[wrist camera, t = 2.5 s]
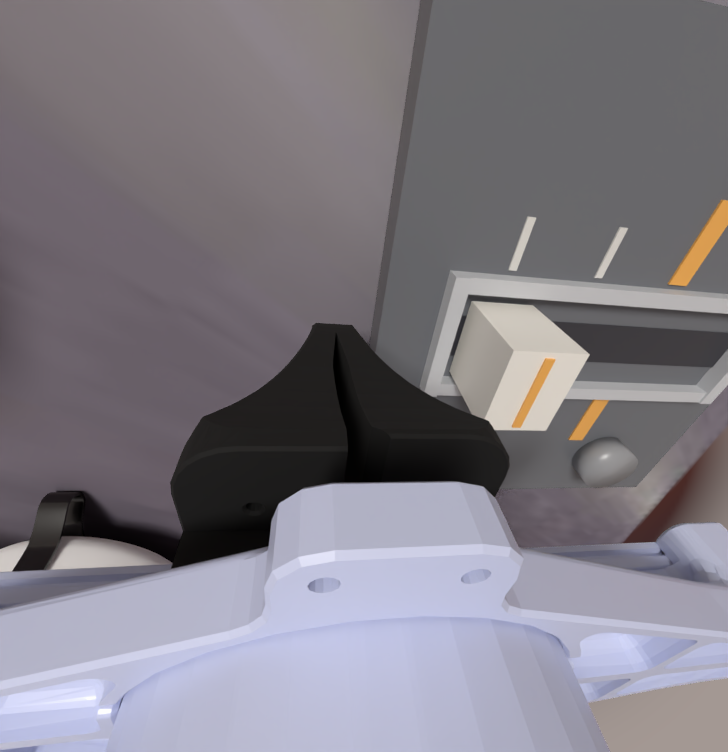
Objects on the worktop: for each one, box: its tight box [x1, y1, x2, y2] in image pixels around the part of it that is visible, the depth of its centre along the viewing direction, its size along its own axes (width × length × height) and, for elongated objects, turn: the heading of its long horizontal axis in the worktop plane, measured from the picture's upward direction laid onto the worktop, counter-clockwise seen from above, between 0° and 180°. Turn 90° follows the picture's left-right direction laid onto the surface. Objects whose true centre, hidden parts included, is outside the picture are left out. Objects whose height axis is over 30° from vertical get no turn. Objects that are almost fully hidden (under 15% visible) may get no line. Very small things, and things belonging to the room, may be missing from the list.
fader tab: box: [449, 301, 590, 431], centre depth 13 cm, size 3×2×4 cm
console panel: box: [369, 0, 728, 489], centre depth 15 cm, size 20×18×3 cm
